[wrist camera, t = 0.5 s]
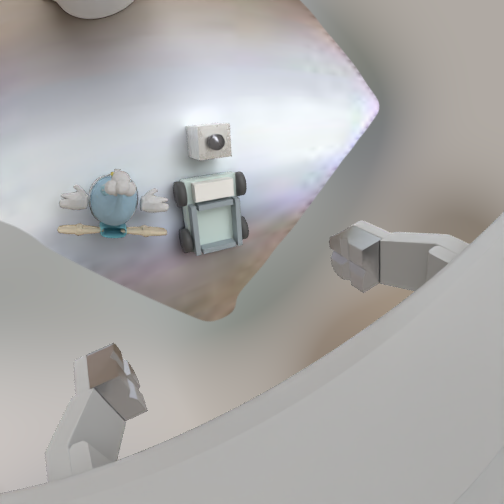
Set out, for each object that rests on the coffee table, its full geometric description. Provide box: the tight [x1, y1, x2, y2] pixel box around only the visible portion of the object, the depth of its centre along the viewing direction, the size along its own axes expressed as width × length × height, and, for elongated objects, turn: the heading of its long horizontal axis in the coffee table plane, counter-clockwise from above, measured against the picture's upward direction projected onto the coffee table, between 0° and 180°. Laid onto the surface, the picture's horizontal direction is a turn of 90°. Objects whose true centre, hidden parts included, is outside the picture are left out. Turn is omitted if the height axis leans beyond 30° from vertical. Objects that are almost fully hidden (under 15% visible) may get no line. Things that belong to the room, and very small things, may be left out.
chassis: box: [173, 171, 249, 256], centre depth 53 cm, size 12×11×4 cm
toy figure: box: [57, 169, 169, 238], centre depth 40 cm, size 17×10×15 cm, turn 78°
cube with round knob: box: [186, 123, 232, 161], centre depth 47 cm, size 5×5×7 cm
